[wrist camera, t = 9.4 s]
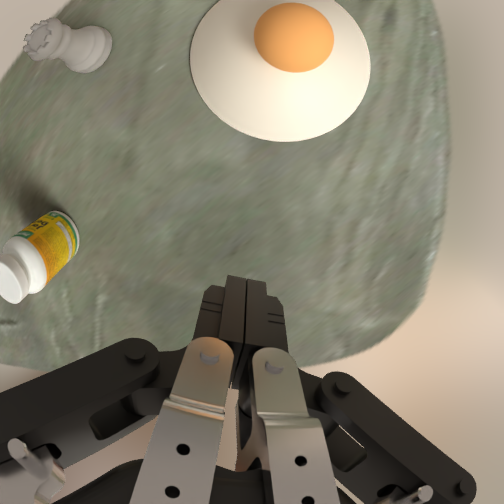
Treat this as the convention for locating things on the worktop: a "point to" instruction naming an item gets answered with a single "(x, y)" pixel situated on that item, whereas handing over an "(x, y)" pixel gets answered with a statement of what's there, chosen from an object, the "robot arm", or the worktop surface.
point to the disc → (276, 74)
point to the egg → (293, 37)
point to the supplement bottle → (36, 255)
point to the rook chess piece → (69, 45)
